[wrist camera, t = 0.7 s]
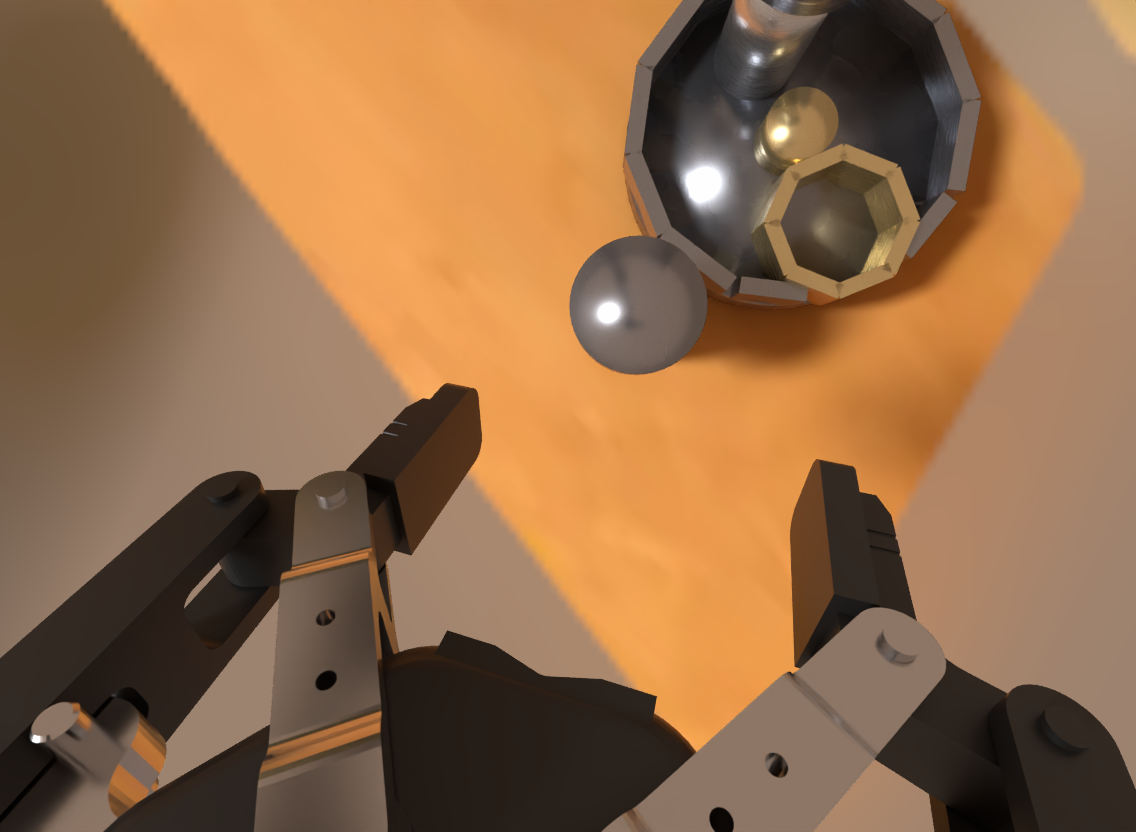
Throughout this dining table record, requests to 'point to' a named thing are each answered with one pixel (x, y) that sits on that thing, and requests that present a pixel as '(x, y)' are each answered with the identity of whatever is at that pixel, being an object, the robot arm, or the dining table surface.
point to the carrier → (799, 142)
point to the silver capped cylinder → (638, 305)
